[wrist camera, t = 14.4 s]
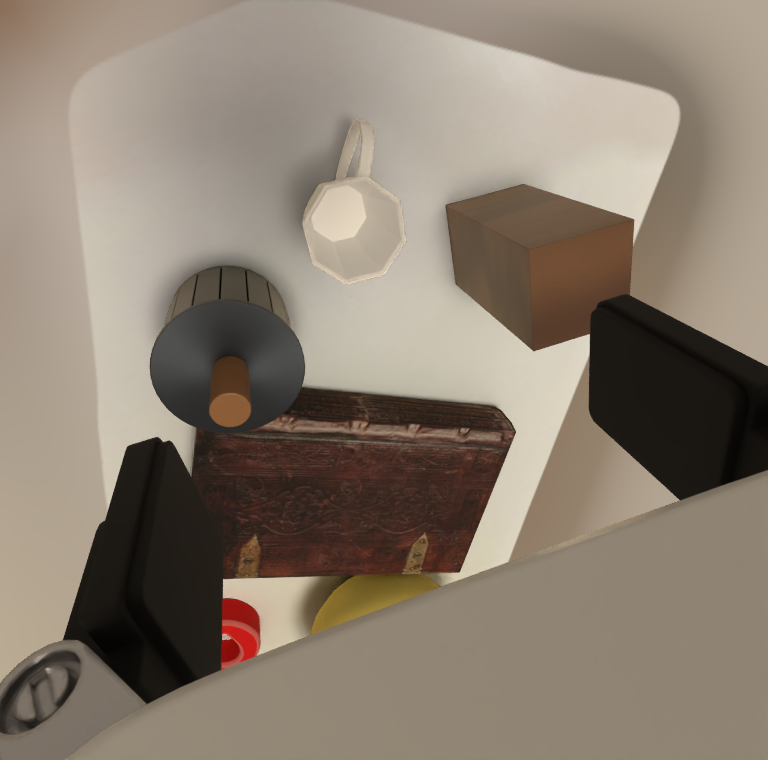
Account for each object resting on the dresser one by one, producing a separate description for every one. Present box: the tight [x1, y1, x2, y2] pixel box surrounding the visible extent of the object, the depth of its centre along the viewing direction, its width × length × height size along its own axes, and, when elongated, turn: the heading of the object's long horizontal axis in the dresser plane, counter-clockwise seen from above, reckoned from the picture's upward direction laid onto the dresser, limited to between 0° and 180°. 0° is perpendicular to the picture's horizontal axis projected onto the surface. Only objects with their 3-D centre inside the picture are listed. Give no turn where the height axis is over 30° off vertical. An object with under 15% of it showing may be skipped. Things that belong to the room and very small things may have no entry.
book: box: [191, 389, 516, 579], centre depth 51 cm, size 29×19×5 cm, turn 76°
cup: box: [302, 119, 407, 285], centre depth 36 cm, size 7×10×8 cm
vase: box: [310, 574, 439, 635], centre depth 55 cm, size 18×18×19 cm
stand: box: [446, 184, 634, 351], centre depth 39 cm, size 7×7×14 cm
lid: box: [150, 299, 305, 433], centre depth 33 cm, size 10×10×6 cm
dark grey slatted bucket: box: [164, 266, 291, 328], centre depth 39 cm, size 9×9×8 cm
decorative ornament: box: [221, 599, 260, 670], centre depth 58 cm, size 10×10×3 cm
